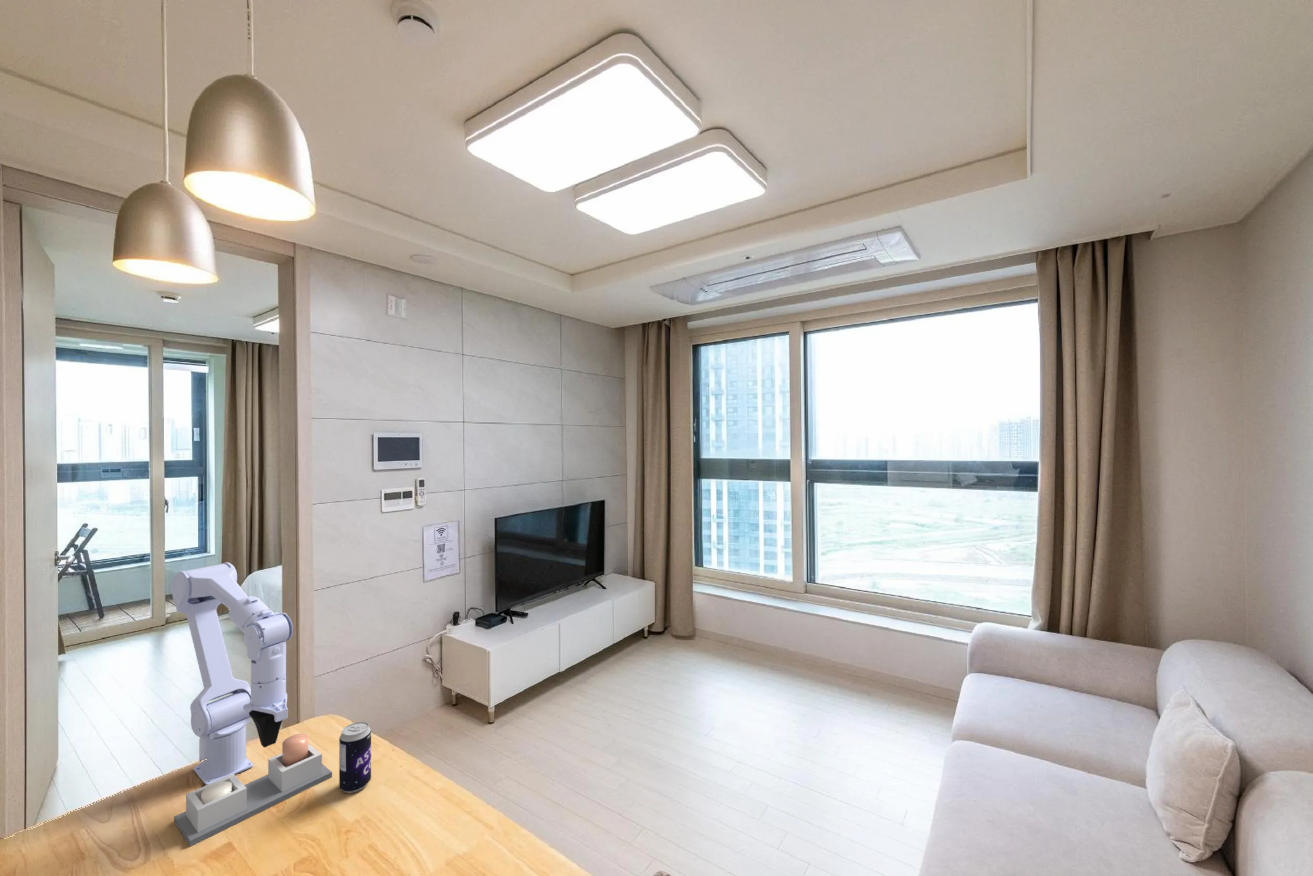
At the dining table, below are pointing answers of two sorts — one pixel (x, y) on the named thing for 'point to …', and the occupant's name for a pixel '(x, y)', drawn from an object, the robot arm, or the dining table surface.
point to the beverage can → (354, 757)
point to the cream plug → (215, 791)
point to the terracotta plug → (294, 749)
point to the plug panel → (249, 796)
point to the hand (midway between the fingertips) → (268, 744)
